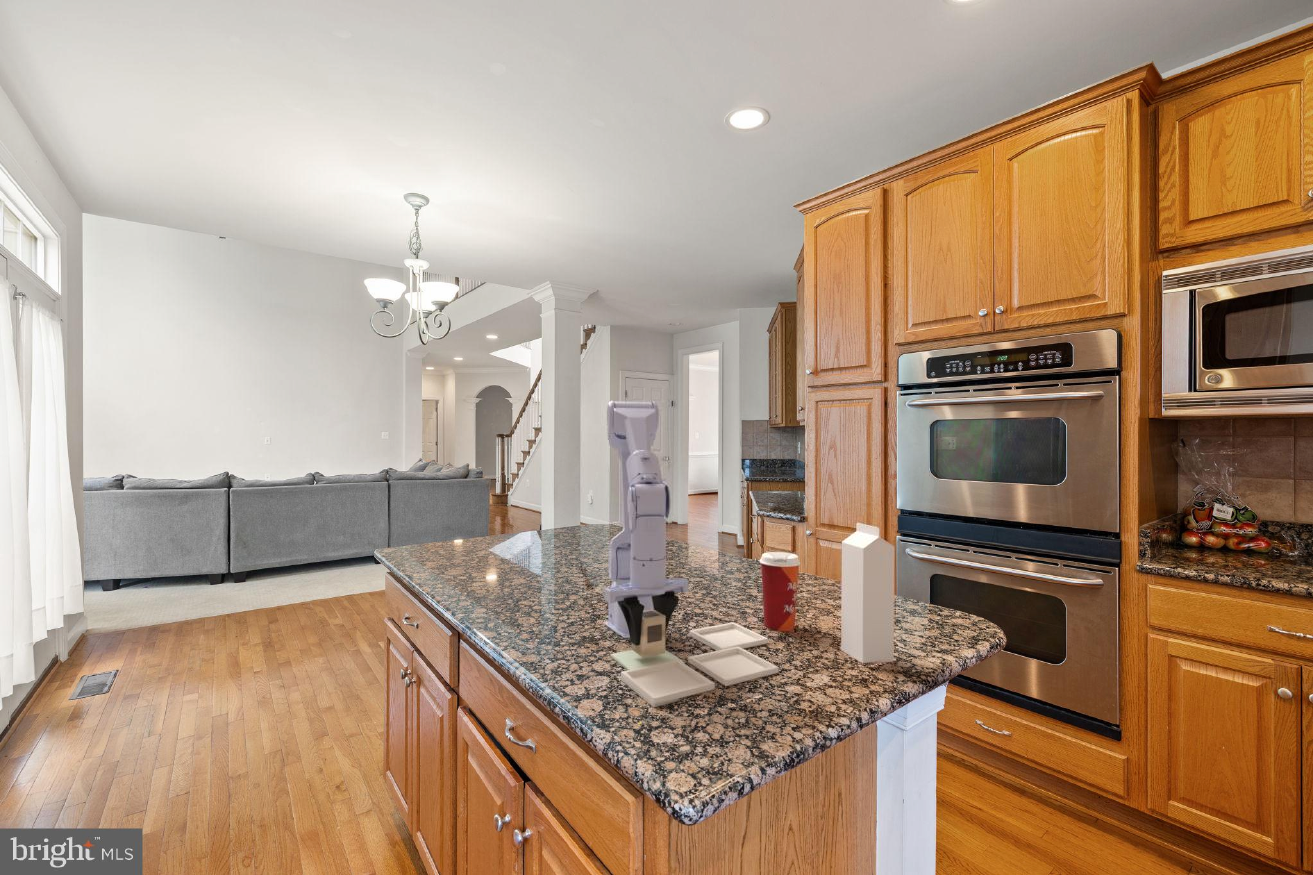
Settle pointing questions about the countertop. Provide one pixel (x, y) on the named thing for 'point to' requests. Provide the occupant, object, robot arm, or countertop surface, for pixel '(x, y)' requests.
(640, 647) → the letter block
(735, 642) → the dish
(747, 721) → the countertop surface
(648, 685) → the dish
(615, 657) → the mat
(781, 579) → the paper cup
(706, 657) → the dish
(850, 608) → the milk
